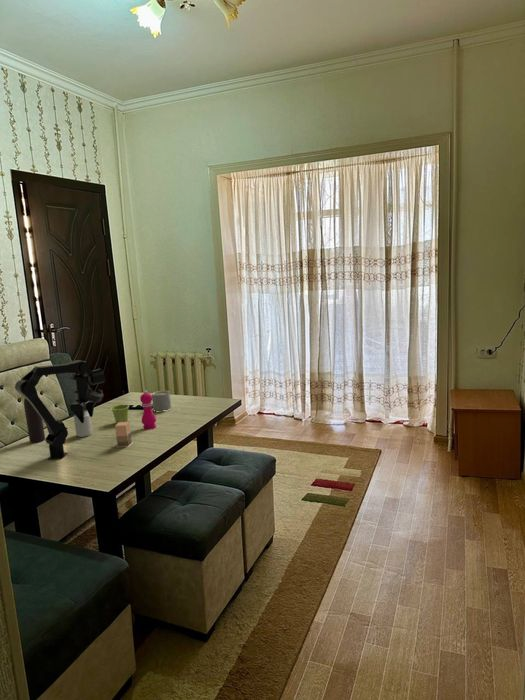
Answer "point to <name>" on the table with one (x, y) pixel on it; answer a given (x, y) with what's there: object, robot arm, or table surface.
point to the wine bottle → (33, 423)
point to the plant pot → (120, 413)
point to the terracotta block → (122, 428)
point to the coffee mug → (161, 400)
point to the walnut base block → (124, 440)
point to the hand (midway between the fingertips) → (87, 419)
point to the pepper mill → (147, 411)
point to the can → (83, 425)
